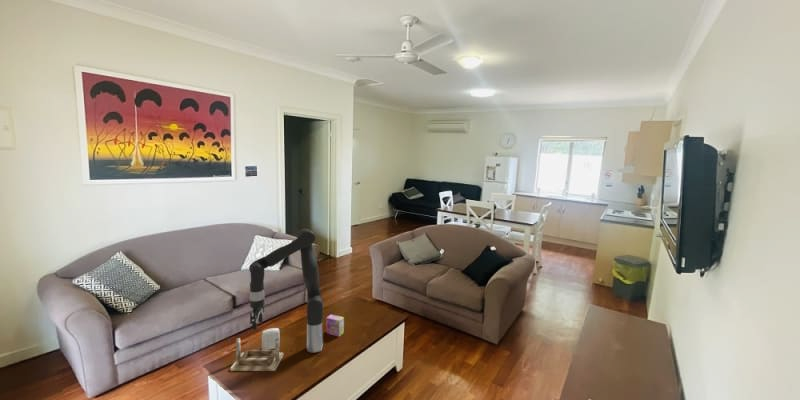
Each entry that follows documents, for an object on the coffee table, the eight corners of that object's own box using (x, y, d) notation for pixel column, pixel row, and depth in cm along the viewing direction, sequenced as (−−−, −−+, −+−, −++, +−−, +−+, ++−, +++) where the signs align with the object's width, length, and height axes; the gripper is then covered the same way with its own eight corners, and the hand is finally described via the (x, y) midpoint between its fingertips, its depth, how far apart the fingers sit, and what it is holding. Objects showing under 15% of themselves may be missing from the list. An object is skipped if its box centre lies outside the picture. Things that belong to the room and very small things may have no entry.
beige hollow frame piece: (283, 354, 194) (283, 332, 192) (275, 370, 179) (275, 346, 177) (242, 354, 192) (241, 332, 191) (230, 370, 177) (229, 346, 176)
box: (326, 334, 219) (326, 317, 217) (330, 330, 224) (331, 314, 223) (339, 337, 215) (339, 320, 214) (343, 333, 220) (344, 317, 219)
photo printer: (279, 344, 204) (279, 325, 203) (280, 348, 201) (279, 329, 199) (261, 347, 200) (261, 328, 199) (261, 351, 196) (261, 332, 195)
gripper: (259, 303, 174) (259, 331, 176) (268, 292, 189) (268, 319, 190) (244, 303, 174) (245, 331, 176) (255, 292, 188) (255, 319, 190)
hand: (257, 325), depth 183 cm, fingers open, 8 cm apart
